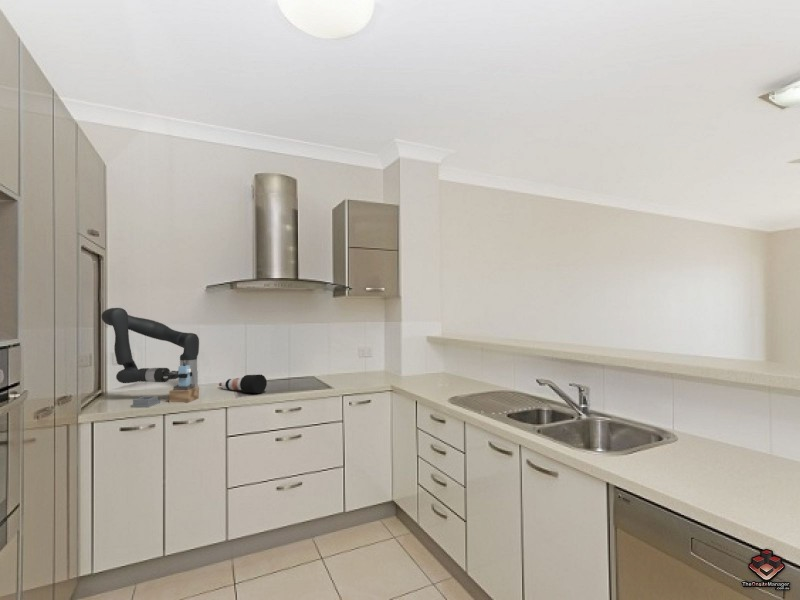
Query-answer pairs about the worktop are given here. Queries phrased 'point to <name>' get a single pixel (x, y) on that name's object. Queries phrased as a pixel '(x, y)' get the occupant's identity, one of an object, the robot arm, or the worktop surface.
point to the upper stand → (184, 393)
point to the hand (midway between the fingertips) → (189, 375)
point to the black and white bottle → (246, 384)
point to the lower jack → (145, 401)
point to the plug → (184, 370)
